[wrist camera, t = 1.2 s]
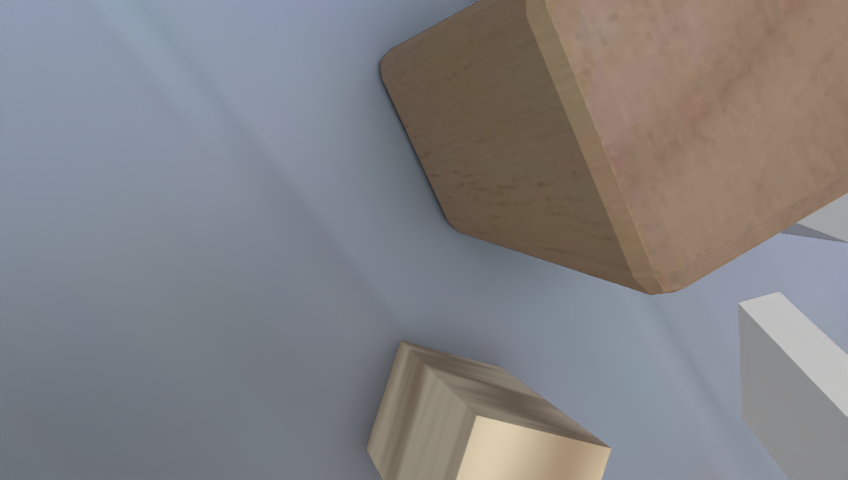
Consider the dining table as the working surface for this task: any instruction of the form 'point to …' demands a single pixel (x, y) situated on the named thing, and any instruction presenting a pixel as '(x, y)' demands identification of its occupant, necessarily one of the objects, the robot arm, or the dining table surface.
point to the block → (629, 127)
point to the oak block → (474, 425)
